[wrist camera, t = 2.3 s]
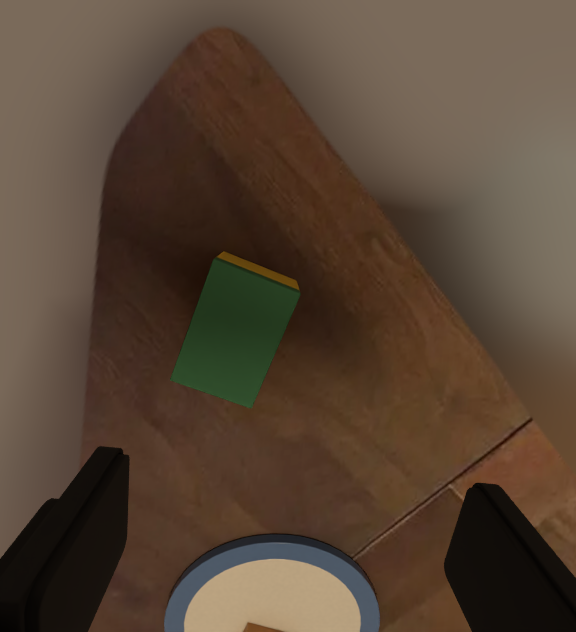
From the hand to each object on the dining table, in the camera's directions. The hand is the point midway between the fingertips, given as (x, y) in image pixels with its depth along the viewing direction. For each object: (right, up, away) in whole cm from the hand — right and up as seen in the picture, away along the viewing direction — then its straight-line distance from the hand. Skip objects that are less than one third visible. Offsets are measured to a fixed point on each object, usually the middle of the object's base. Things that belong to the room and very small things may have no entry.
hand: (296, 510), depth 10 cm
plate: (-2, -21, +22) cm, 30 cm away
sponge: (-3, +5, +14) cm, 16 cm away
